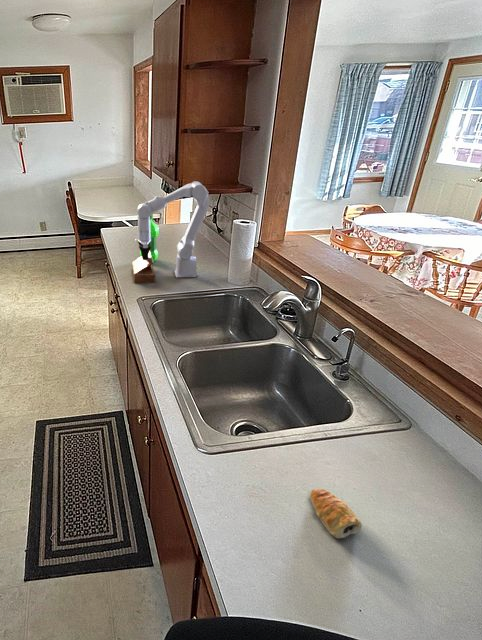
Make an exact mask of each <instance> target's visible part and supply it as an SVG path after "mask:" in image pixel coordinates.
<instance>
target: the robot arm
mask: <svg viewBox="0 0 482 640" xmlns="http://www.w3.org/2000/svg"><path fill="white" fill-rule="evenodd" d="M183 197H185V198H190V199H191V198H193V199H194V201H195V204H196V207H195V209H194V212H193V214H192V216H191V219H190V221H189V223H188V226H187V228H186V230H185V232H184V233H185V234H184V235H183V236H182V237H181V239H180V241H179V242H178V243H176V246H175V247H176V248H175V249H176V251H177V254H176V259H175V270H174V271H173V272H174V275H175V277H176V278H178V279H179V278H197V265H198V263H197V257H196V256H193V252H194V251H193V250H194V247H195V240H196V237H197V235H198V233H199V230H200V228H201V226H202V223H203V221H204V219H205V217H206V214H207V212H208V210H209V207H210V199H209V191H208V190H207V188H206V186H205V185H203V184H202V183H201V182H200V181H197V180H196V181H195V180H194V181H192V182H190V183H187V184H184V185H183V186H182V187H180V188H177V189H176V190H174V191H172V192H170V193H168V194H167V195H165V196H161V195H159V196H158V195H156V196H154V198H153V199H150V200H149V201H145V202H143V203H140V204H139V205H138V206H137V209H136V212H137V219H138V220H137V238H135V242H137V243H138V248H139V251H141V254H142V259H143V260H147V259H148V254H149V251H150V249H151V246H148V245H149V243H150V241H151V238H150V215H151V214H153V215H154V214H155V213H158V212H159V211H161V210H164V209H165V208H166V207H167V204H170V203H172V202H174V201H176V200H178V199H181V198H183Z"/></svg>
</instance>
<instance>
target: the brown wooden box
mask: <svg viewBox="0 0 482 640" xmlns="http://www.w3.org/2000/svg"><path fill="white" fill-rule="evenodd" d="M153 265H154V264H152V265H150V266H149V267H147V268H146V269H144V270H142V271H141V272H139V273H138V274H136V275H134V270H133V269H132V274H133V281H134V284H139V283H140V284H141V283H142V284H143V283H156V274H155V269H154V266H153Z"/></svg>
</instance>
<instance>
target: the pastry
mask: <svg viewBox="0 0 482 640" xmlns="http://www.w3.org/2000/svg"><path fill="white" fill-rule="evenodd" d="M309 499H310V501H311V503H312V506H313V509H314V510H315V513H316V516H317V517H318V518H319V520H320V522H321V523H322V525H323V526H324V527H325V528H326V530H327V532H328V533H329V534H330V535H331V536H333V538H335V539H339V540H340V539H343V538H346V537H348V536H349V535H355V534H357V533H359V532H360V531H361V529H362V522H361V519H359V518H358V516H357V515H356V513H355V511H353V510H352V509H351V508H350V507H349V506H348V504H347V503H346V502H344V501H343V500H341V499H340V498H338V496H335V495H334V494H333V493H331V492H330V491H327V490H326V489H323V488H319V489H312V490H311V491H310V495H309Z"/></svg>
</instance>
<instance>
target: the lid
mask: <svg viewBox="0 0 482 640" xmlns="http://www.w3.org/2000/svg"><path fill="white" fill-rule="evenodd" d="M150 265H154V261H153V260H152V256H151V252H150V251H149V254H148V259H147V260H143V259H142V256H140V257H138V258H136V259H135V260H134V261H132V271H133V270H134V275H136V274H138V273H139V272H141V271H142V270H144V269H146V268H147V267H149V266H150ZM134 275H133V276H134Z"/></svg>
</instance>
